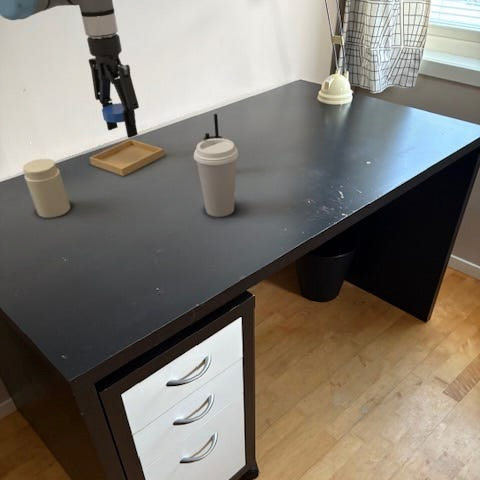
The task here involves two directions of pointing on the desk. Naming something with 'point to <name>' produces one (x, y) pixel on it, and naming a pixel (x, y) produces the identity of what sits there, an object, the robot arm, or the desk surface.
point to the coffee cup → (217, 174)
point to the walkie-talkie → (215, 130)
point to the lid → (113, 113)
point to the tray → (126, 157)
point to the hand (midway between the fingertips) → (122, 132)
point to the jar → (46, 188)
